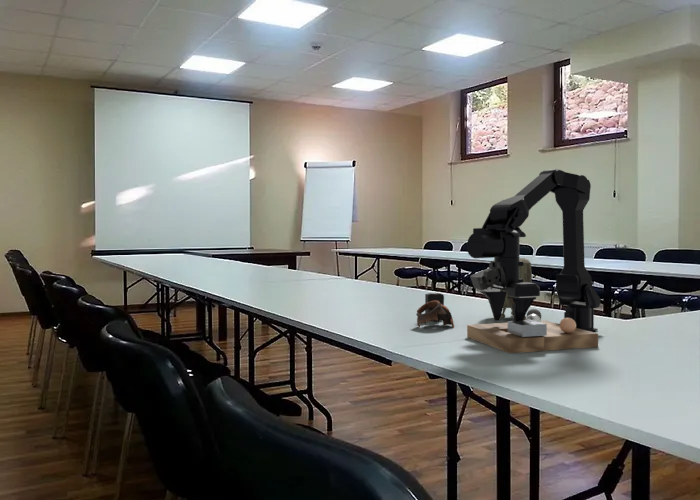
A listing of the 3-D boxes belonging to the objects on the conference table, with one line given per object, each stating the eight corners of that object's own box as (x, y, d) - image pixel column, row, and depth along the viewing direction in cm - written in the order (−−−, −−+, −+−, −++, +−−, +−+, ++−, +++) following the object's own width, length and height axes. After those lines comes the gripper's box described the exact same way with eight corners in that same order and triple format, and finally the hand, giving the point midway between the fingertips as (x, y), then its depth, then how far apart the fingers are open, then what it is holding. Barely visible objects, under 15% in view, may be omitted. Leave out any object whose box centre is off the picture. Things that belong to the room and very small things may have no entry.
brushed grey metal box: (531, 330, 134) (531, 319, 134) (546, 335, 128) (546, 323, 128) (507, 332, 132) (507, 321, 132) (522, 336, 126) (522, 325, 126)
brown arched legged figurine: (459, 331, 156) (445, 306, 154) (426, 346, 157) (412, 321, 155) (453, 313, 167) (440, 289, 165) (423, 327, 169) (410, 304, 167)
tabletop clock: (531, 322, 166) (531, 233, 165) (499, 322, 166) (499, 234, 166) (517, 315, 181) (517, 233, 180) (488, 315, 181) (488, 233, 180)
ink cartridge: (440, 319, 173) (441, 292, 173) (443, 321, 171) (444, 293, 171) (424, 320, 172) (425, 293, 172) (427, 321, 170) (427, 293, 170)
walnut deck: (545, 332, 151) (545, 320, 150) (598, 346, 131) (598, 333, 131) (467, 337, 145) (467, 324, 145) (509, 353, 126) (509, 339, 125)
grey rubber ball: (536, 321, 149) (536, 307, 149) (544, 323, 146) (544, 309, 145) (523, 322, 148) (523, 308, 148) (531, 324, 145) (531, 310, 144)
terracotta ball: (569, 331, 134) (569, 316, 134) (579, 334, 131) (579, 318, 131) (556, 332, 133) (556, 316, 133) (565, 334, 130) (565, 319, 130)
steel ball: (535, 327, 140) (535, 312, 140) (544, 329, 137) (544, 314, 137) (522, 328, 139) (522, 313, 139) (530, 330, 136) (530, 315, 136)
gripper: (457, 256, 144) (457, 319, 145) (495, 259, 126) (495, 332, 127) (498, 255, 147) (498, 317, 148) (541, 258, 129) (541, 329, 130)
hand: (506, 323), depth 138 cm, fingers open, 9 cm apart
